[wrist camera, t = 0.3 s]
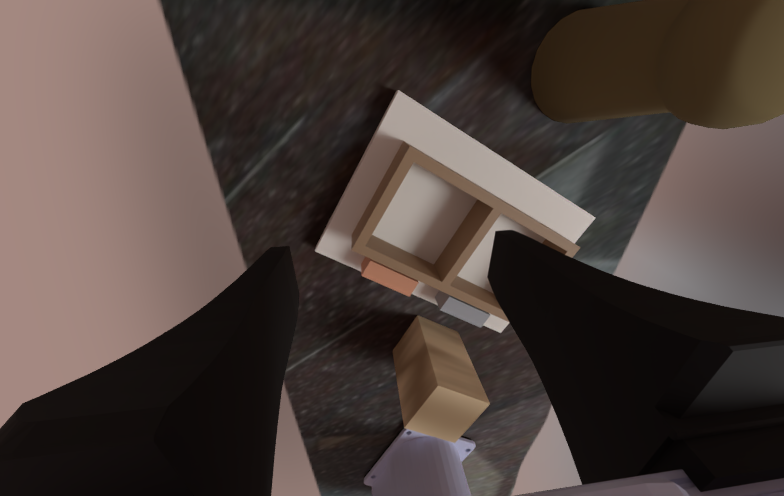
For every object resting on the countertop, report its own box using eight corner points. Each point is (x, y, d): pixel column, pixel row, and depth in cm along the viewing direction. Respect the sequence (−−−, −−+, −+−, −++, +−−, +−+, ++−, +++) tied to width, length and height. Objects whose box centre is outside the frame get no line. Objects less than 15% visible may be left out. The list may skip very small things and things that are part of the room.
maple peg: (432, 365, 28) (454, 443, 22) (392, 350, 27) (404, 428, 21) (458, 332, 27) (490, 403, 21) (417, 315, 26) (438, 385, 19)
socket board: (495, 325, 27) (514, 354, 24) (316, 244, 22) (310, 268, 19) (586, 213, 24) (621, 230, 20) (396, 90, 19) (404, 89, 16)
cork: (521, 122, 20) (682, 145, 10) (542, 5, 18) (780, -113, 8) (610, 124, 21) (841, 147, 11) (643, 11, 19) (978, -90, 9)
